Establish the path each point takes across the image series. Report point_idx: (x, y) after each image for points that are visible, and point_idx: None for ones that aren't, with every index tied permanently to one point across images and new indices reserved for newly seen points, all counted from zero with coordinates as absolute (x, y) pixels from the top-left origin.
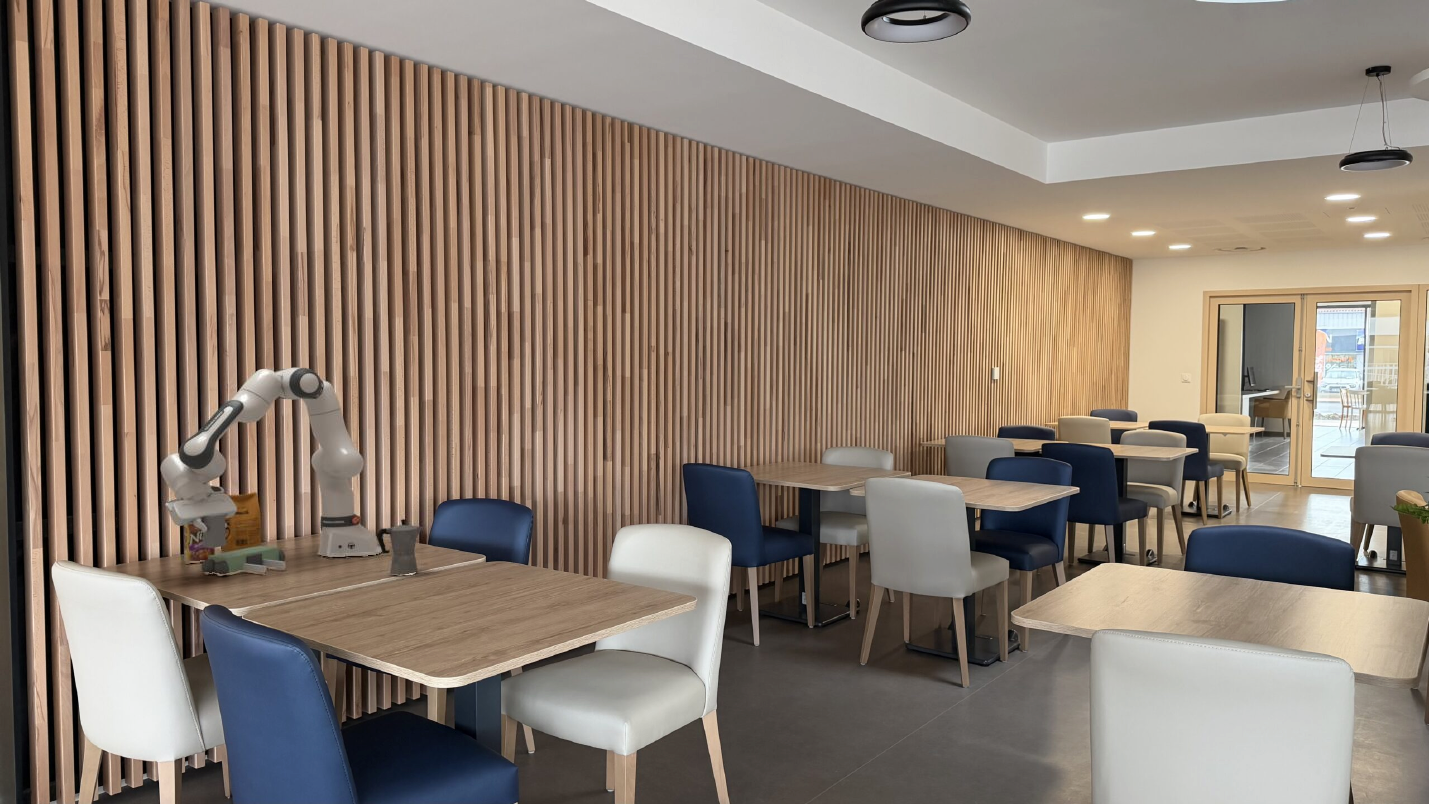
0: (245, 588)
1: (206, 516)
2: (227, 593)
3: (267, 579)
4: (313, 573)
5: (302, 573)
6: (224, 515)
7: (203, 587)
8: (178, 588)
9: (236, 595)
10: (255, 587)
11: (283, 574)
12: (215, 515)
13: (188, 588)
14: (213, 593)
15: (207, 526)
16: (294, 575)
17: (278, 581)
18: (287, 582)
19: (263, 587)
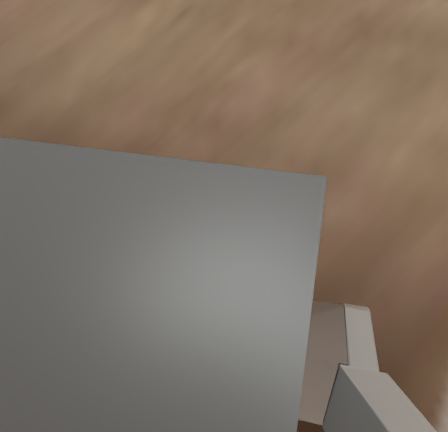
0: (311, 85)
1: (298, 411)
2: (413, 83)
3: (139, 128)
4: (6, 41)
5: (11, 80)
6: (20, 146)
7: (361, 281)
8: (427, 395)
9: (426, 24)
10: (282, 62)
11: (40, 137)
12: (178, 216)
13: (406, 340)
14: (438, 138)
15: (319, 325)
16: (50, 82)
17: (162, 59)
18: (169, 16)
19: (272, 34)
